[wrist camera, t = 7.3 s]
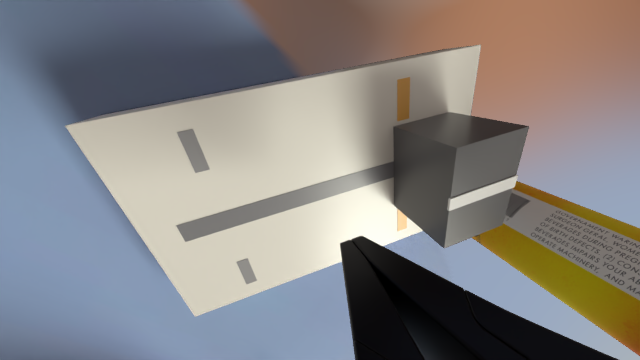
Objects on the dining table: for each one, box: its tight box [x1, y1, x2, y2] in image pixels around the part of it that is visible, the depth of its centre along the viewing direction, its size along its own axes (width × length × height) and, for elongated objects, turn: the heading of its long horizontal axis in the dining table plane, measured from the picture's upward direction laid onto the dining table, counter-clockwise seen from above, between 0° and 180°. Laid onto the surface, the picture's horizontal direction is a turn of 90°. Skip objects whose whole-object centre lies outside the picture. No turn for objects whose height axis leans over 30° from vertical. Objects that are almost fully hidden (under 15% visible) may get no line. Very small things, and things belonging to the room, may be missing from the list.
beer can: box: [472, 181, 640, 356], centre depth 15 cm, size 6×6×15 cm
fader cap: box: [393, 112, 529, 248], centre depth 12 cm, size 4×5×4 cm
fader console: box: [65, 45, 481, 317], centre depth 13 cm, size 18×11×2 cm, turn 99°
